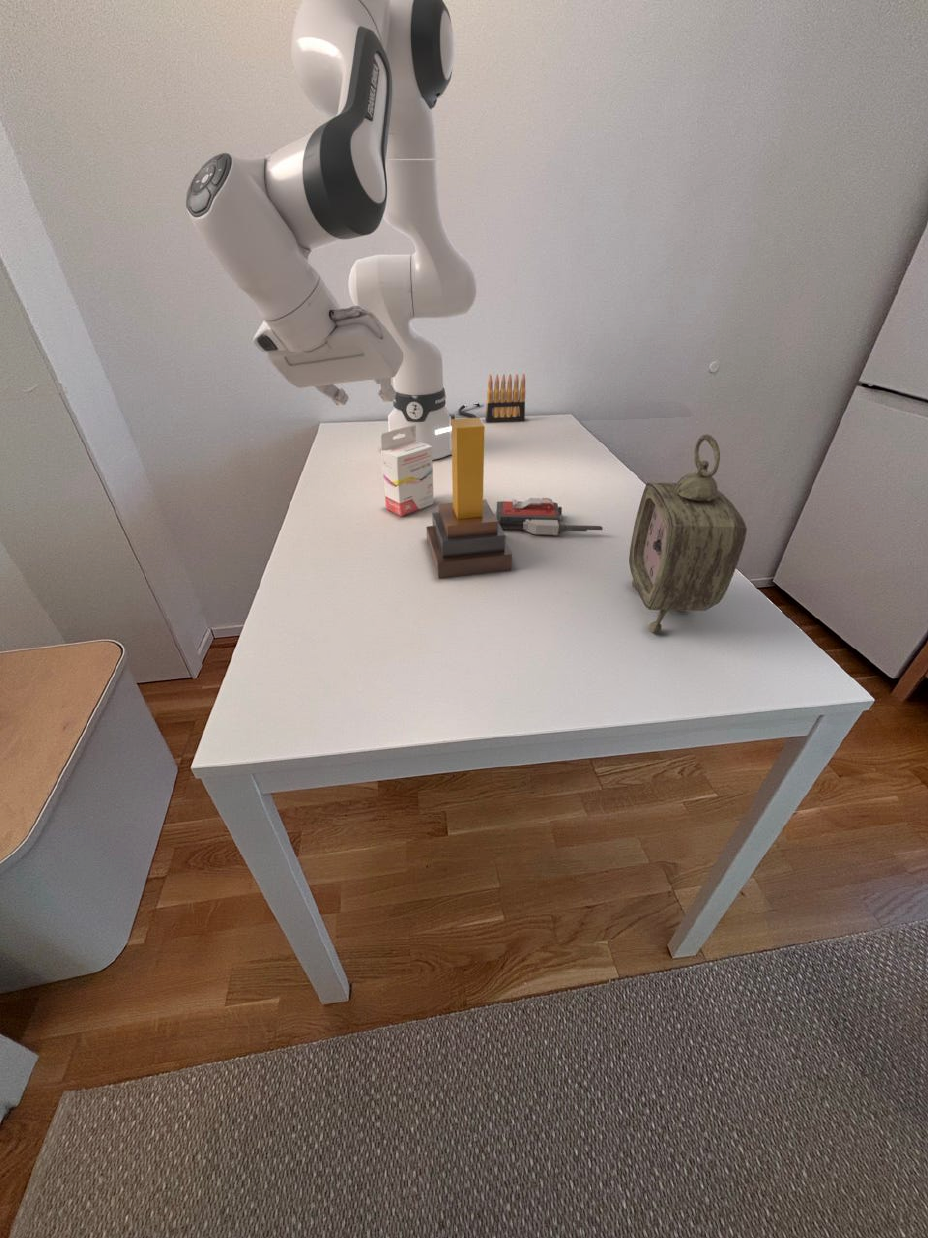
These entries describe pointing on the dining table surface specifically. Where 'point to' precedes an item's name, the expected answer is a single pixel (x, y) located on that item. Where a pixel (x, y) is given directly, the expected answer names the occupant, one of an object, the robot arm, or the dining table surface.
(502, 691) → the dining table surface
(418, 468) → the ink cartridge box
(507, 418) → the ammunition clip
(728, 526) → the tabletop clock
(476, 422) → the bar
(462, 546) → the stacked square slabs
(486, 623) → the dining table surface
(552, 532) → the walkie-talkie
